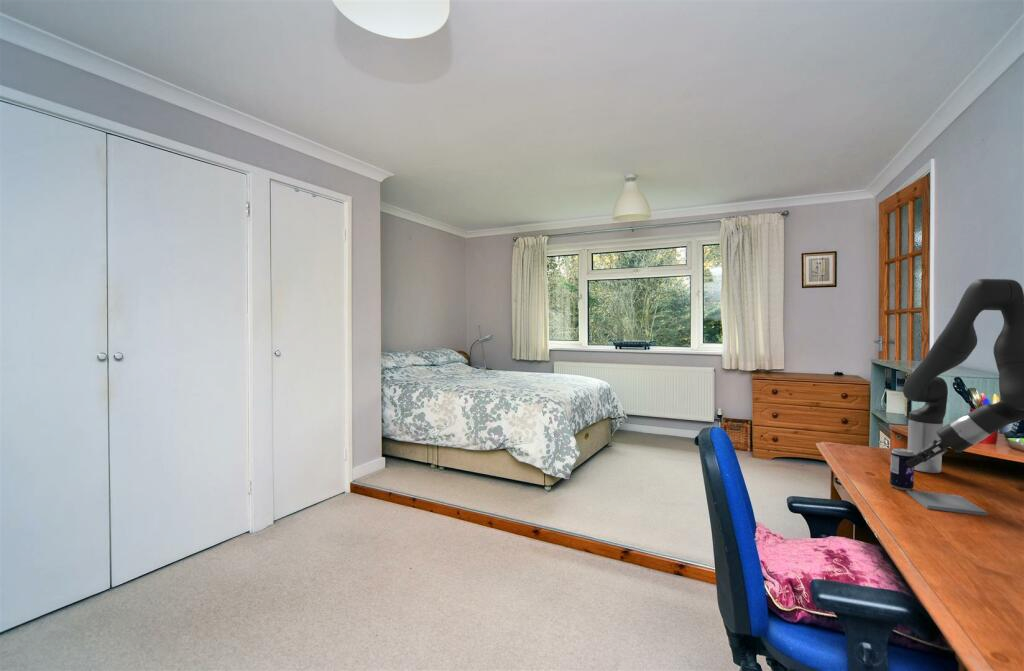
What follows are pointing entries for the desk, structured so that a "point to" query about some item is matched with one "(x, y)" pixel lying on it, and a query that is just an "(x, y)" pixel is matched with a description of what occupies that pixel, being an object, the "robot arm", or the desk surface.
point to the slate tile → (946, 502)
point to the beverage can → (901, 469)
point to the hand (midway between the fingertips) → (910, 462)
